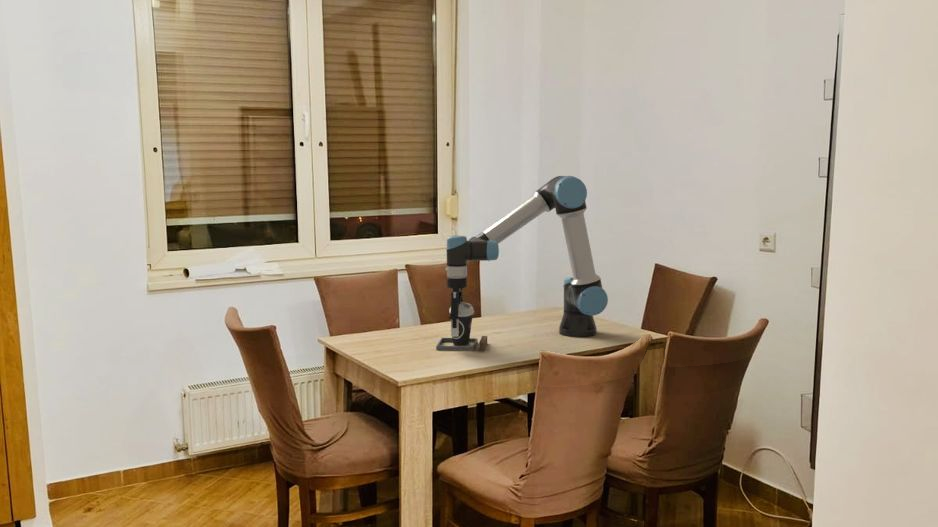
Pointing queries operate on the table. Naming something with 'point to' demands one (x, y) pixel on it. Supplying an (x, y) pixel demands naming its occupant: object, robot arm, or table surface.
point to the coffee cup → (463, 324)
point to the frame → (464, 348)
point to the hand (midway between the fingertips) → (457, 332)
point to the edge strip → (483, 343)
